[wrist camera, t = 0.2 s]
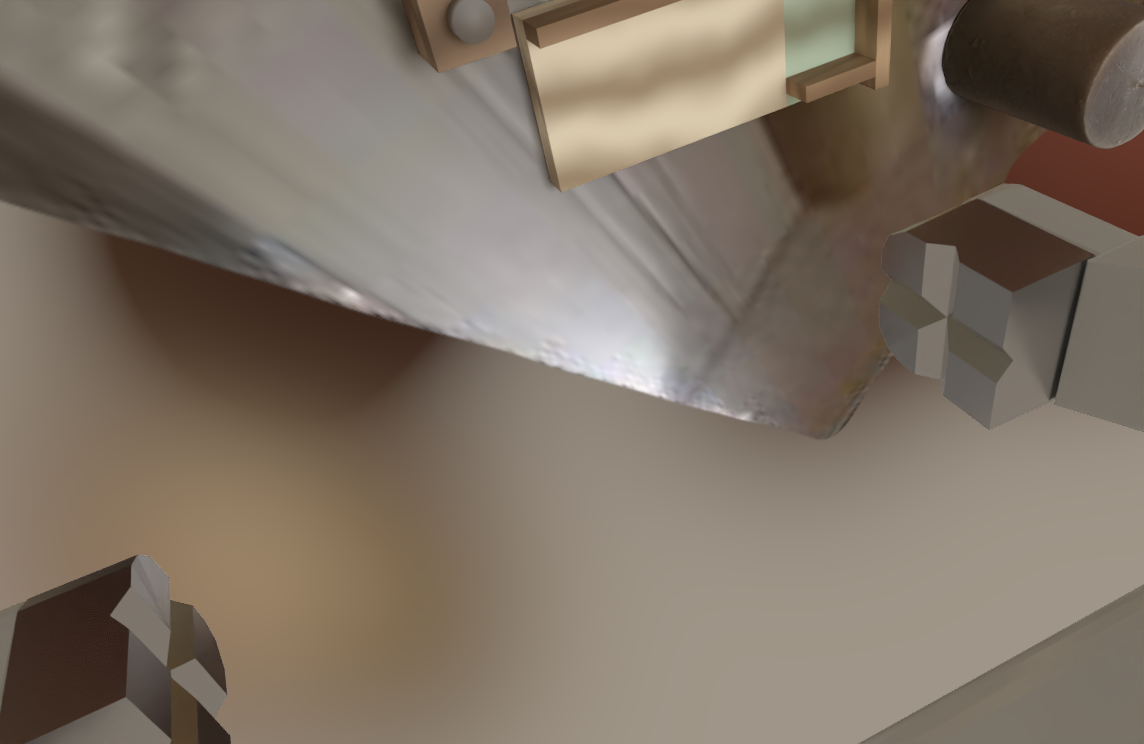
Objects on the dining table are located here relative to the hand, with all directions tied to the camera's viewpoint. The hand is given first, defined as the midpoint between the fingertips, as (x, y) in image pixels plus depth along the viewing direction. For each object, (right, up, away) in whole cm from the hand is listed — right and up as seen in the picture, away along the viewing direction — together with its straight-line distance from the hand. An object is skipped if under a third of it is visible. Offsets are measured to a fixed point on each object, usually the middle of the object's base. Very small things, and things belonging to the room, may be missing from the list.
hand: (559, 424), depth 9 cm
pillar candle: (+35, +28, +60) cm, 75 cm away
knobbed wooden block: (-8, +24, +42) cm, 49 cm away
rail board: (+9, +24, +50) cm, 56 cm away
